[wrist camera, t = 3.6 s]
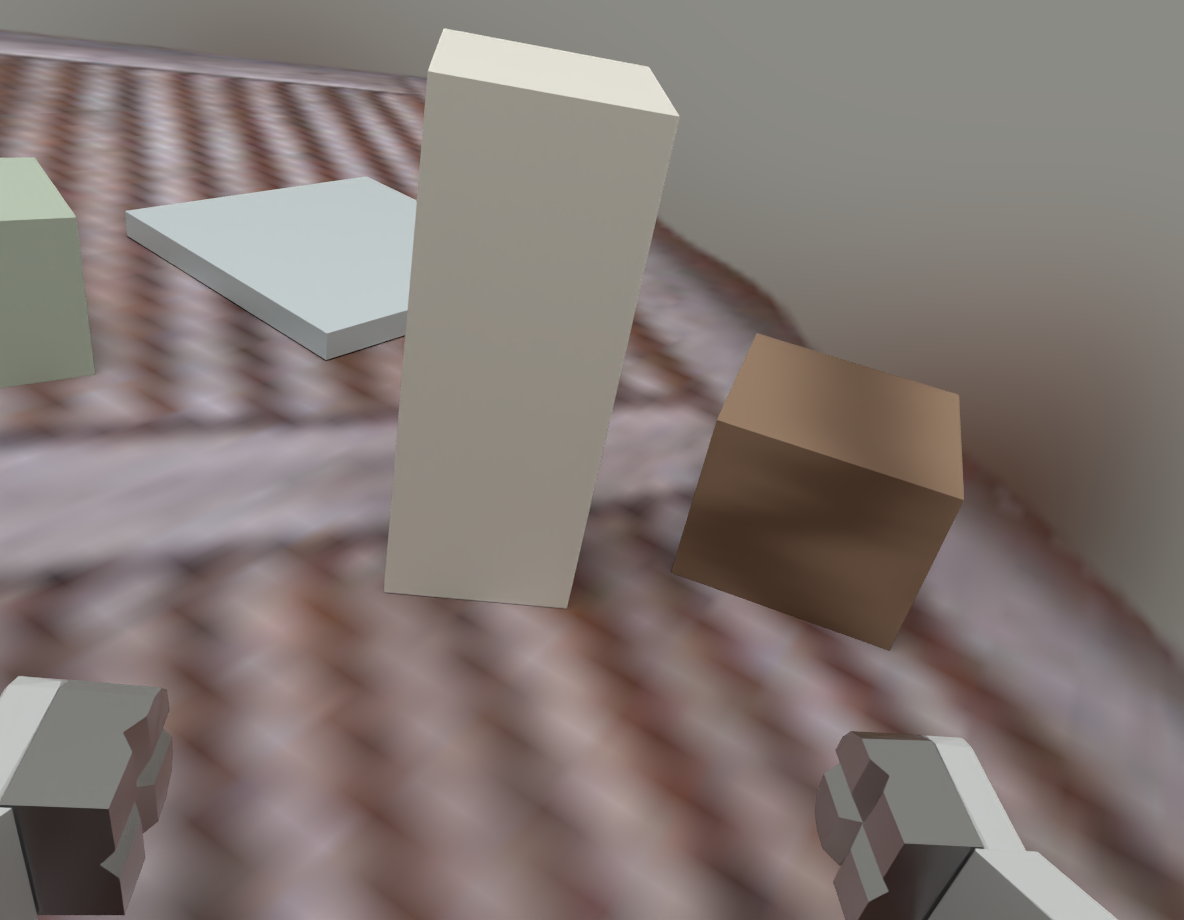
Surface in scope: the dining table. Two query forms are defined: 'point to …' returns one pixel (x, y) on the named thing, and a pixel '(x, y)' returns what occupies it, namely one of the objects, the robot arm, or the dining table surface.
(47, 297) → the sage cube
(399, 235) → the tile
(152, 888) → the dining table surface
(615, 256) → the cream block
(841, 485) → the walnut block
